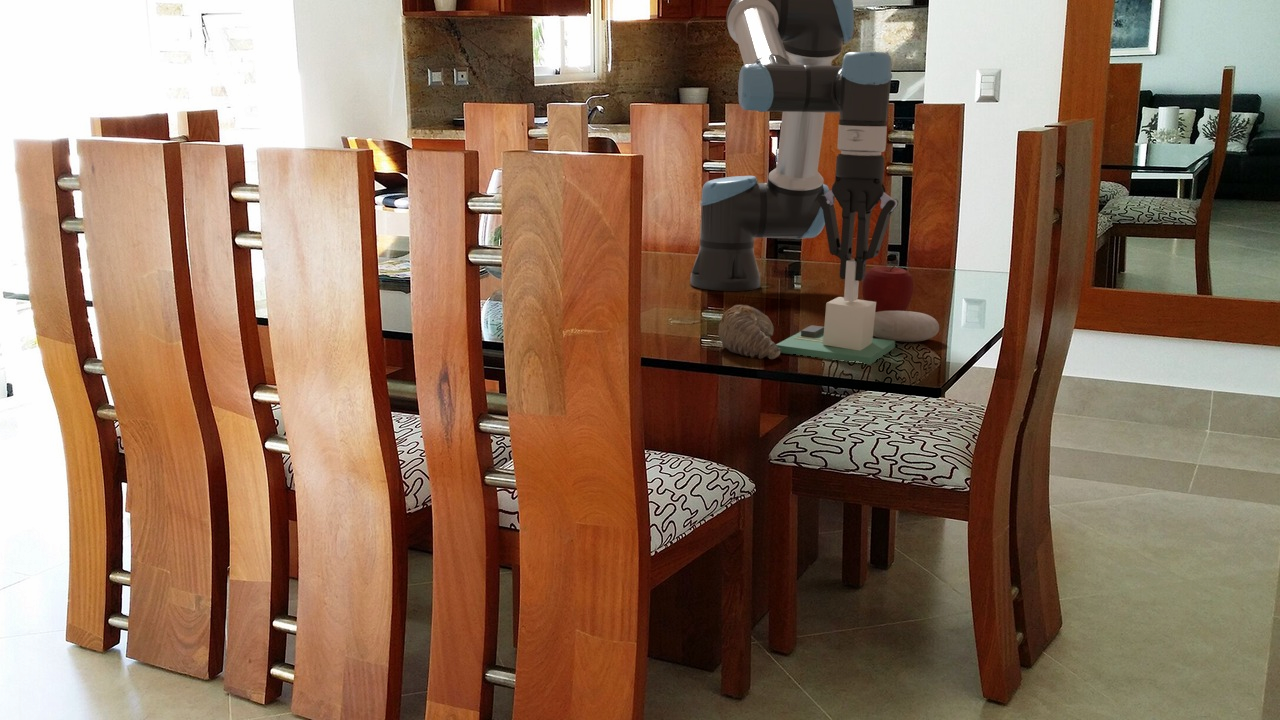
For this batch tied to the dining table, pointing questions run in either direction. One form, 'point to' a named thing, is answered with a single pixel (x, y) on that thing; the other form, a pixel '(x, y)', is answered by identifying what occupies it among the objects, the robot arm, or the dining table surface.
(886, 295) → the apple
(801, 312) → the dining table surface
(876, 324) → the decorative stone
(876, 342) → the board
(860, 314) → the plug
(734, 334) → the seashell
